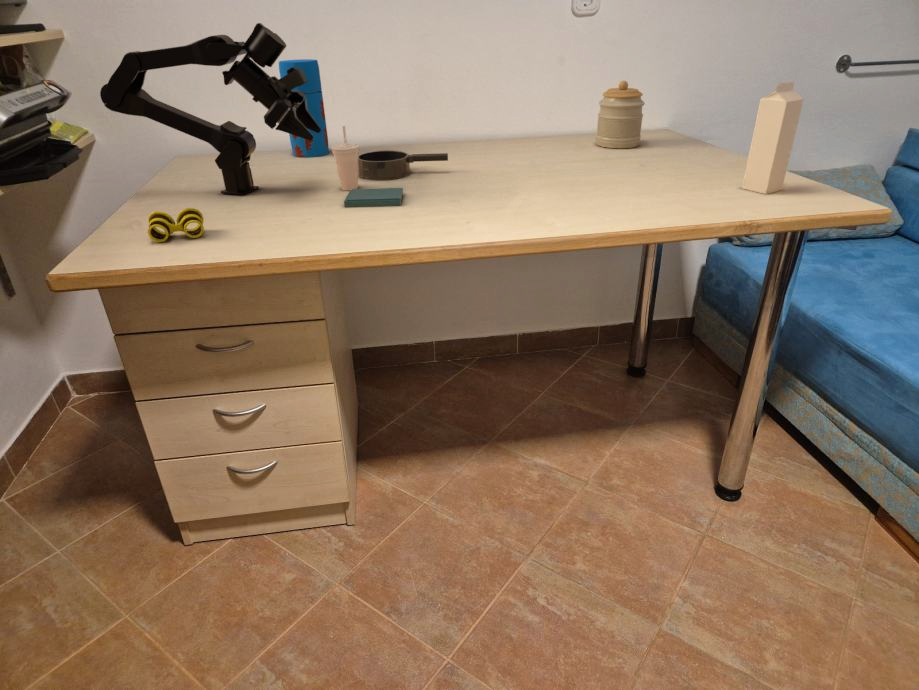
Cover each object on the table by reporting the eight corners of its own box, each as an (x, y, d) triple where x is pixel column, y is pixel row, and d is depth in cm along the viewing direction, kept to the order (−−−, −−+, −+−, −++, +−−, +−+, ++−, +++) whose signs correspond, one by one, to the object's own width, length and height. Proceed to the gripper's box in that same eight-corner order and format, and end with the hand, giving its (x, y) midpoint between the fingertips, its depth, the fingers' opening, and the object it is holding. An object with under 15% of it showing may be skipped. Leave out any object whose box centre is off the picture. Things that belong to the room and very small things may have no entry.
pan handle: (407, 162, 152) (406, 155, 151) (407, 161, 154) (407, 153, 153) (447, 161, 152) (447, 154, 151) (447, 160, 154) (447, 152, 153)
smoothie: (366, 184, 145) (360, 124, 138) (359, 192, 139) (353, 129, 133) (340, 184, 146) (333, 124, 139) (333, 191, 140) (325, 129, 133)
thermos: (314, 148, 185) (301, 58, 173) (336, 152, 179) (325, 59, 167) (285, 154, 178) (270, 61, 166) (307, 158, 172) (293, 63, 160)
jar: (613, 138, 188) (619, 77, 179) (648, 144, 179) (656, 80, 170) (586, 144, 181) (591, 81, 172) (621, 151, 172) (628, 84, 163)
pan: (355, 180, 149) (353, 162, 146) (361, 168, 160) (360, 151, 158) (408, 179, 149) (407, 160, 147) (411, 167, 160) (410, 149, 158)
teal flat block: (344, 207, 129) (343, 200, 128) (350, 195, 137) (349, 189, 136) (400, 205, 129) (400, 198, 128) (403, 194, 137) (402, 187, 136)
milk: (781, 190, 133) (809, 82, 122) (765, 194, 131) (791, 85, 120) (757, 184, 138) (781, 80, 127) (740, 188, 135) (763, 82, 124)
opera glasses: (151, 247, 112) (143, 223, 108) (152, 233, 115) (144, 210, 112) (206, 240, 114) (200, 217, 111) (206, 227, 118) (200, 204, 115)
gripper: (269, 57, 120) (331, 114, 126) (290, 51, 136) (344, 102, 142) (238, 100, 124) (299, 154, 129) (262, 90, 140) (315, 137, 146)
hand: (316, 135), depth 136 cm, fingers open, 9 cm apart
